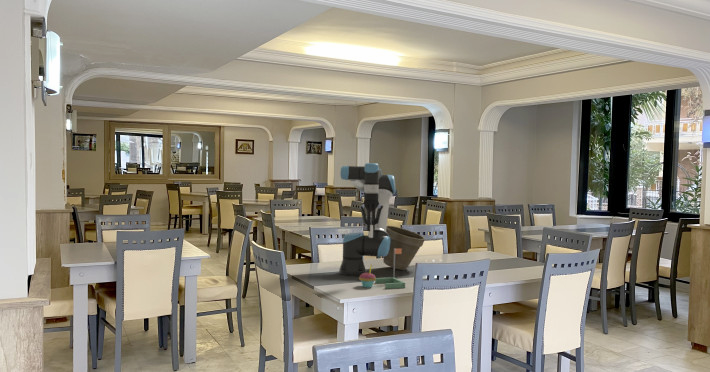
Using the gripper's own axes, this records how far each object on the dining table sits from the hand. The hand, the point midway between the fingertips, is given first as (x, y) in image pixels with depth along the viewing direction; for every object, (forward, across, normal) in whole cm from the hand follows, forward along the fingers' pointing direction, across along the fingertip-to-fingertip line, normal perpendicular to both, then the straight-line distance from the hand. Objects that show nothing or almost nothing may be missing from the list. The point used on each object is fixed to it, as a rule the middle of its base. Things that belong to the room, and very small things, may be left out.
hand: (370, 237), depth 295 cm
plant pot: (+24, +29, +35) cm, 52 cm away
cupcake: (+24, -5, -8) cm, 26 cm away
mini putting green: (+24, +10, -8) cm, 27 cm away
